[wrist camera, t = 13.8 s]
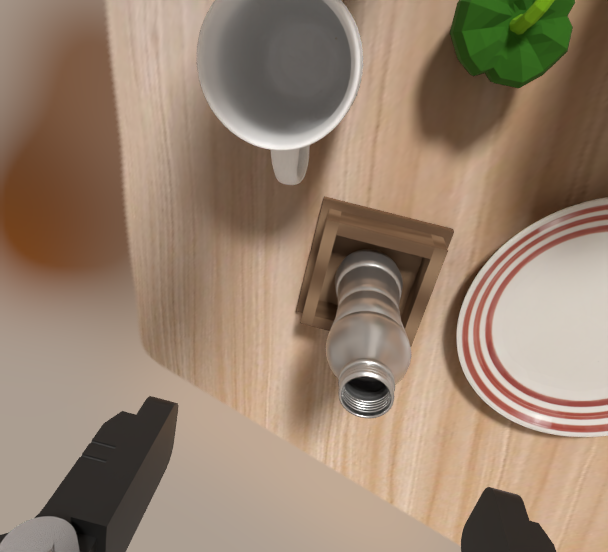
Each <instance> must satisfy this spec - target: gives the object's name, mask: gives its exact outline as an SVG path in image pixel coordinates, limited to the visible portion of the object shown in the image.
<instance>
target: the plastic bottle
mask: <svg viewBox="0 0 608 552" xmlns="http://www.w3.org/2000/svg"><path fill="white" fill-rule="evenodd" d="M335 288H336V294H337V297H338V309H337V313H336V317H335V320H334V322H333V325H332V327H331V329H330V331H329V334H328V337H327V341H326V347H325V352H326V358H327V360H328V363H329V366H330V368H331V370H332V372H333V374H334V375H335V376H336V377H337V378H338V379H339V382H338V383H339V399H340V402H341V404H342V405H343V407H344V408H345V409H346V410H347V411H348V412H350V413H351V414H353V415H355V416H358V417H362V418H376V417H379V416H382V415H383V414H385V413H386V412H388V411H389V409H390V408H391V407H392V404H393V401H394V391H395V385H396V384H397V383H398V382H400V381H401V380H402V378H403V377H404V376H405V374H406V372H407V369H408V367H409V365H410V361H411V347H410V343H409V340H408V336H407V334H406V332H405V329H404V327H403V324H402V322H401V317H400V312H399V301H400V298H401V294H402V288H403V279H402V276H401V273H400V271H399V269H398V267H397V265H396V264H395V262H394V261H393V260H392V259H391V258H390V257H389V256H387V255H386V254H384V253H382V252H380V251H377V250H372V249H362V250H358V251H355V252H353V253H351V254H349V255H348V256H347V257H346V258H345V259H344V260H343V261H342V263H341V264H340V266H339V268H338V269H337V272H336V275H335Z"/></svg>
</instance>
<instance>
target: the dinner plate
mask: <svg viewBox="0 0 608 552" xmlns="http://www.w3.org/2000/svg"><path fill="white" fill-rule="evenodd" d="M456 341H457V352H458V356H459V360H460V364H461V367H462V370H463V372H464V374H465V376H466V378H467V380H468V382H469V383H470V385H471V386H472V388H473V389H474V391H475V392H476V393H477V394H478V396H479V397H480V398H481V399H482V400H483V401H484V402H485V403H486V404H487V405H489V406H490V407H491V408H492V409H493V410H495V411H496V412H498V413H499V414H501V415H502V416H504V417H505V418H507V419H509V420H511V421H513V422H515V423H517V424H519V425H522V426H524V427H527V428H530V429H533V430H536V431H539V432H543V433H548V434H553V435H560V436H568V437H599V436H608V197H606V198H600V199H595V200H591V201H587V202H583V203H580V204H577V205H573V206H570V207H567V208H565V209H562V210H560V211H557V212H555V213H553V214H550V215H548V216H546V217H544V218H543V219H541V220H539V221H537V222H535V223H533V224H532V225H530V226H528V227H527V228H525V229H524V230H522V231H521V232H519V233H518V234H516V235H515V236H514V237H513V238H511V239H510V240H509V241H507V242H506V243H505V244H504V245H503V246H502V247H501V248H500V249H499V250H498V251H496V252H495V253H494V254H493V256H492V257H491V258H490V259H489V260H488V261H487V262H486V264H485V265H484V266H483V267H482V269H481V270H480V272H479V273H478V274H477V276H476V277H475V279H474V280H473V282H472V284H471V286H470V288H469V289H468V291H467V294H466V296H465V298H464V300H463V303H462V306H461V310H460V313H459V318H458V322H457V332H456Z"/></svg>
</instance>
